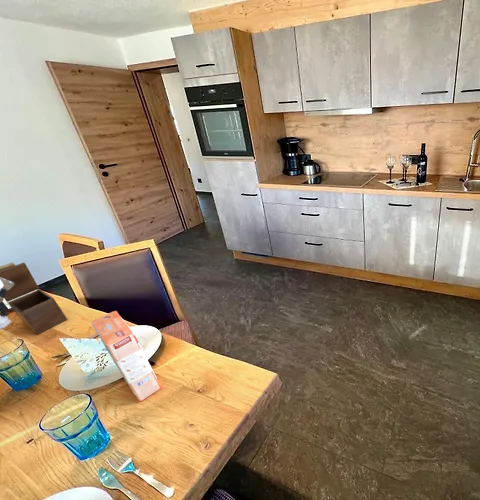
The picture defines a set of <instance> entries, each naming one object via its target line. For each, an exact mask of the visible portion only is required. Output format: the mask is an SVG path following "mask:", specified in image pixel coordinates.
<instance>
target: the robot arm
mask: <svg viewBox="0 0 480 500" xmlns="http://www.w3.org/2000/svg"><path fill="white" fill-rule="evenodd" d="M13 286H14V283H13V282H12V281H9V280H6V279H4V278H1V277H0V314H1V315H3V316H7V317H8V316H9V314H8V312H7V311H10V309H9V308H8V306H7V305H6V304H5V302H4V297H5V295H6V293H7V291H8V290H9V289H11V288H12V287H13Z"/></svg>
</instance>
